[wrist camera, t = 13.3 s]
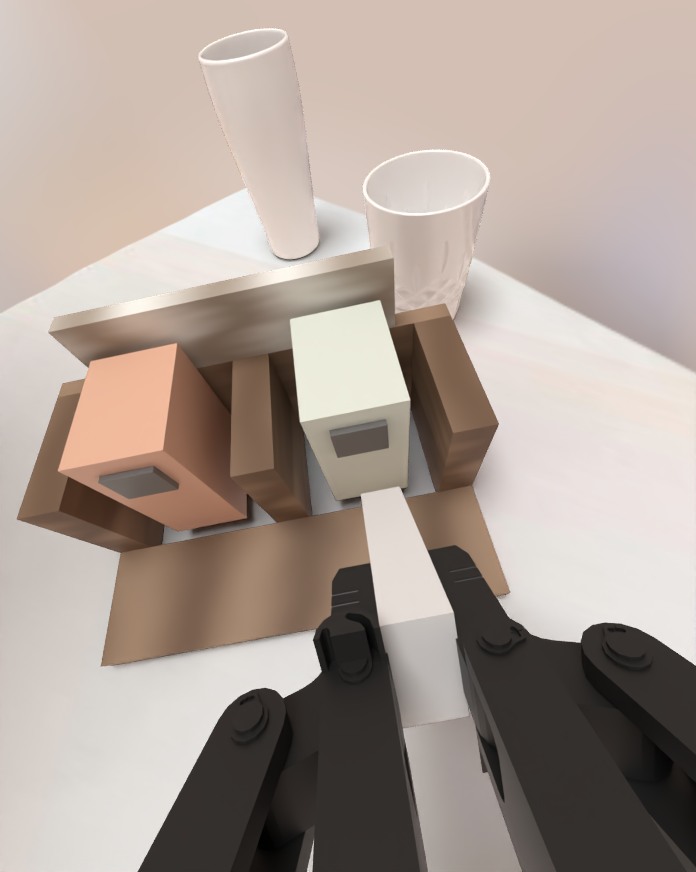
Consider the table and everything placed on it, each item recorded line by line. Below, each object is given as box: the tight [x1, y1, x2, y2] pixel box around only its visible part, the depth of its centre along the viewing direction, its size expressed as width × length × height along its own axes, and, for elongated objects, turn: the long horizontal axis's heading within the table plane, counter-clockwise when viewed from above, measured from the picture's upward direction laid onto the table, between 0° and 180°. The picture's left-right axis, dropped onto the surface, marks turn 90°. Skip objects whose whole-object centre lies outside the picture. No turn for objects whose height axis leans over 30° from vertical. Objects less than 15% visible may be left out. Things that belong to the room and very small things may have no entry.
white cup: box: [363, 150, 490, 319], centre depth 27 cm, size 8×8×10 cm
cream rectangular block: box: [290, 300, 410, 501], centre depth 19 cm, size 4×6×9 cm
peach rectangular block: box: [58, 343, 247, 531], centre depth 20 cm, size 4×6×9 cm
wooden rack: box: [17, 245, 510, 666], centre depth 18 cm, size 22×14×12 cm, turn 99°
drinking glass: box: [198, 28, 319, 259], centre depth 32 cm, size 7×7×15 cm
